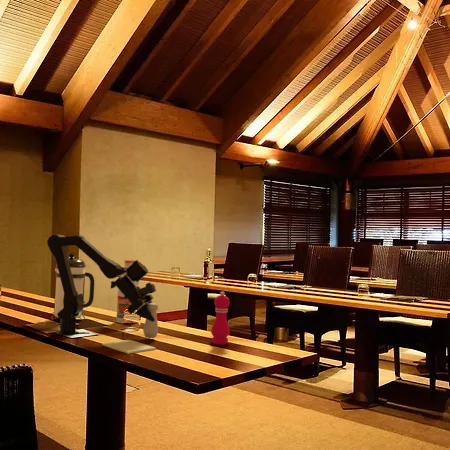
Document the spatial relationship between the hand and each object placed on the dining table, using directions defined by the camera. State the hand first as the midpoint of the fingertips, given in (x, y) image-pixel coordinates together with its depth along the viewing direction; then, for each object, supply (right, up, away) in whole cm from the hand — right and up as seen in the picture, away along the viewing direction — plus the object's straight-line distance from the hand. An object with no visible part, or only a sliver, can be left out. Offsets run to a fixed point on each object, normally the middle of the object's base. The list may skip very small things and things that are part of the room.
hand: (154, 320), depth 210 cm
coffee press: (-42, -6, +33) cm, 54 cm away
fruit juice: (-17, -7, +33) cm, 38 cm away
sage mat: (-7, -7, -15) cm, 18 cm away
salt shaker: (-2, -7, 0) cm, 7 cm away
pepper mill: (+25, -9, 0) cm, 27 cm away
